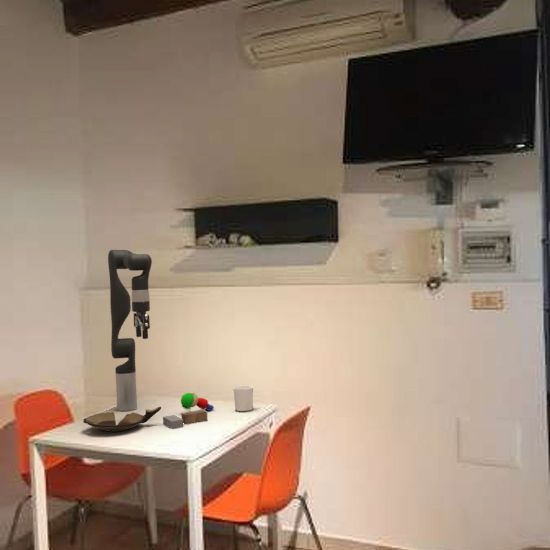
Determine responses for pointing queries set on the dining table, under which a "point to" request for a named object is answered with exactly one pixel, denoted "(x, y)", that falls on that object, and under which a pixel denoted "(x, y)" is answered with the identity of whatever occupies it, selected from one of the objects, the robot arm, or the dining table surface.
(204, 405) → the toy
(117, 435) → the dining table surface
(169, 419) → the hammer head
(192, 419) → the block
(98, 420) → the oil lamp
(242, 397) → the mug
